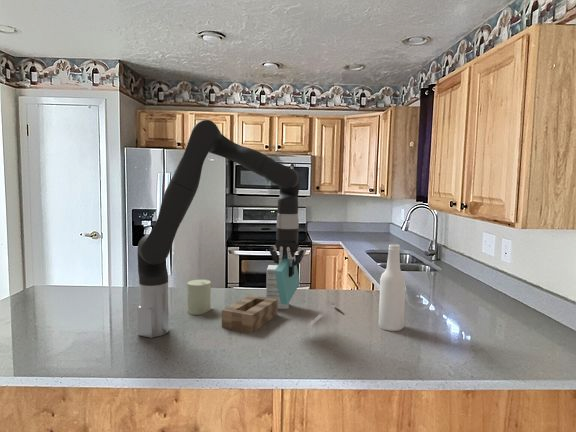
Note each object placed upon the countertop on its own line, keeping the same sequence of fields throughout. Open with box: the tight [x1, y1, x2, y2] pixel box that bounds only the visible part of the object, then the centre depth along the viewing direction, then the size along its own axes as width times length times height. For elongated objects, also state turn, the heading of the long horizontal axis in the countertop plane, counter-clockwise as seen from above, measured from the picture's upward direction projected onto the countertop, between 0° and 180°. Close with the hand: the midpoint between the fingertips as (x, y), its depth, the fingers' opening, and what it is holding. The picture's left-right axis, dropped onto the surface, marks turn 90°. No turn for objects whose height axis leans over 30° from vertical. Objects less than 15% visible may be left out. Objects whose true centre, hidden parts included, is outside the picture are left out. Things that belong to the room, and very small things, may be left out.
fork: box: [325, 299, 345, 316], centre depth 163 cm, size 3×16×2 cm, turn 17°
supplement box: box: [265, 264, 290, 310], centre depth 163 cm, size 10×9×17 cm
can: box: [186, 279, 212, 316], centre depth 157 cm, size 9×9×12 cm
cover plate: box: [275, 256, 301, 305], centre depth 139 cm, size 12×2×14 cm, turn 156°
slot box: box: [221, 294, 279, 334], centre depth 145 cm, size 20×12×7 cm, turn 156°
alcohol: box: [378, 243, 407, 332], centre depth 143 cm, size 9×9×30 cm
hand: (286, 276), depth 138 cm, fingers closed on cover plate, 2 cm apart
